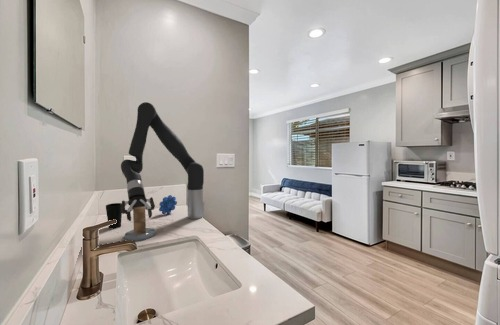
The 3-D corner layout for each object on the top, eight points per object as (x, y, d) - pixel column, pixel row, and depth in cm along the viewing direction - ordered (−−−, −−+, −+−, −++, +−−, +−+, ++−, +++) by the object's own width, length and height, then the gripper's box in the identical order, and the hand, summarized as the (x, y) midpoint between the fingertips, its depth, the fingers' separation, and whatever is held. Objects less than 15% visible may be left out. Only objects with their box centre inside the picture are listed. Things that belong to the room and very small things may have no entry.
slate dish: (151, 228, 116) (151, 226, 116) (157, 236, 106) (157, 233, 106) (123, 234, 109) (123, 231, 109) (126, 243, 98) (126, 240, 98)
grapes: (174, 210, 151) (174, 193, 151) (178, 213, 146) (178, 194, 145) (156, 214, 144) (156, 195, 143) (160, 216, 138) (160, 197, 138)
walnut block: (144, 230, 110) (143, 206, 110) (145, 232, 107) (145, 208, 106) (133, 232, 108) (133, 207, 107) (135, 235, 104) (134, 209, 104)
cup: (115, 230, 115) (114, 206, 114) (102, 229, 116) (101, 206, 116) (126, 225, 122) (125, 203, 122) (114, 224, 124) (113, 202, 123)
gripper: (120, 187, 108) (123, 216, 99) (151, 185, 116) (157, 211, 108) (119, 196, 113) (122, 225, 104) (149, 193, 121) (155, 219, 112)
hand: (140, 218), depth 106 cm, fingers open, 8 cm apart
